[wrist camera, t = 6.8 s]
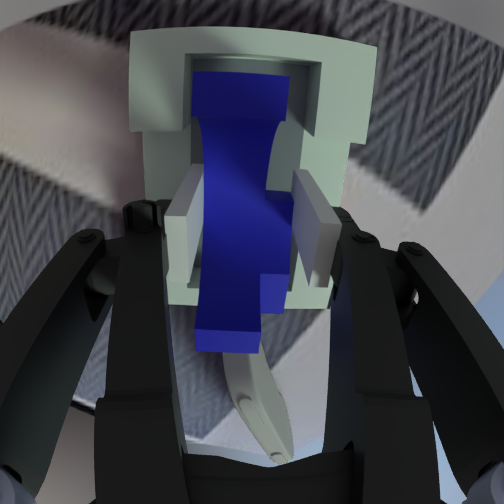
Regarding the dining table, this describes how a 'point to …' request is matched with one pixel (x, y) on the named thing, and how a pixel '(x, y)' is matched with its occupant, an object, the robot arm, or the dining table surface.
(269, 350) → the dining table surface
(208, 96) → the cable clip
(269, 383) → the slide sandal
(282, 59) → the holder
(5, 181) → the dining table surface
